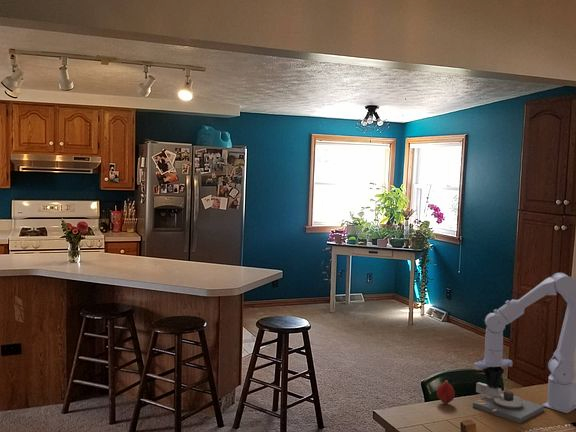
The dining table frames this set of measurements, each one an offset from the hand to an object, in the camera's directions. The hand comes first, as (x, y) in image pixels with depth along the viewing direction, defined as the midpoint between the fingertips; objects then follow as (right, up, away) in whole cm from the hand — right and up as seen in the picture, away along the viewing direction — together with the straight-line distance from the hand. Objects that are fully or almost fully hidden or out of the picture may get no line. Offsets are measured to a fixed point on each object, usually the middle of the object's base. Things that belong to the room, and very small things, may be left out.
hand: (492, 388), depth 184 cm
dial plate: (+2, -4, -7) cm, 9 cm away
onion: (-17, -4, -4) cm, 18 cm away
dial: (0, -2, -5) cm, 5 cm away
